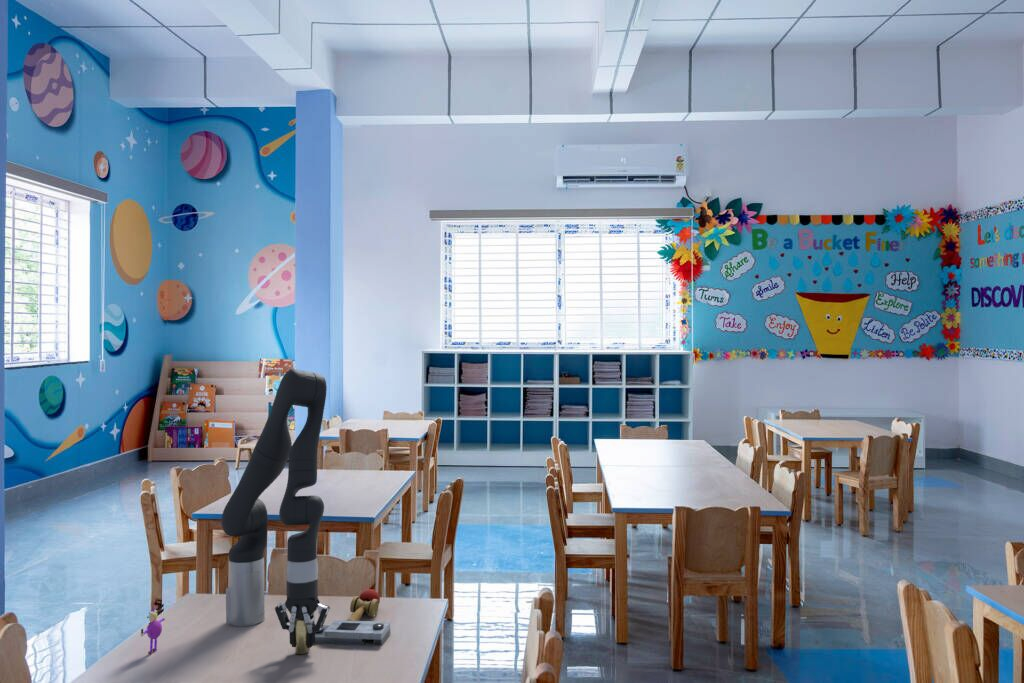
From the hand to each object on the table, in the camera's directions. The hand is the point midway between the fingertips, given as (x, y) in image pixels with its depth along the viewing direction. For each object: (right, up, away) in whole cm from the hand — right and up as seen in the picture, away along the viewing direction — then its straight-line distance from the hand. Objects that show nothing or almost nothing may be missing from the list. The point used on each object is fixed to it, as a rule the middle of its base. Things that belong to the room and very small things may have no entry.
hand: (302, 646), depth 190 cm
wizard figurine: (-37, -2, +1) cm, 37 cm away
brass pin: (0, -1, 0) cm, 1 cm away
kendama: (+10, -2, +23) cm, 26 cm away
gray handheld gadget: (+9, -1, +9) cm, 13 cm away
